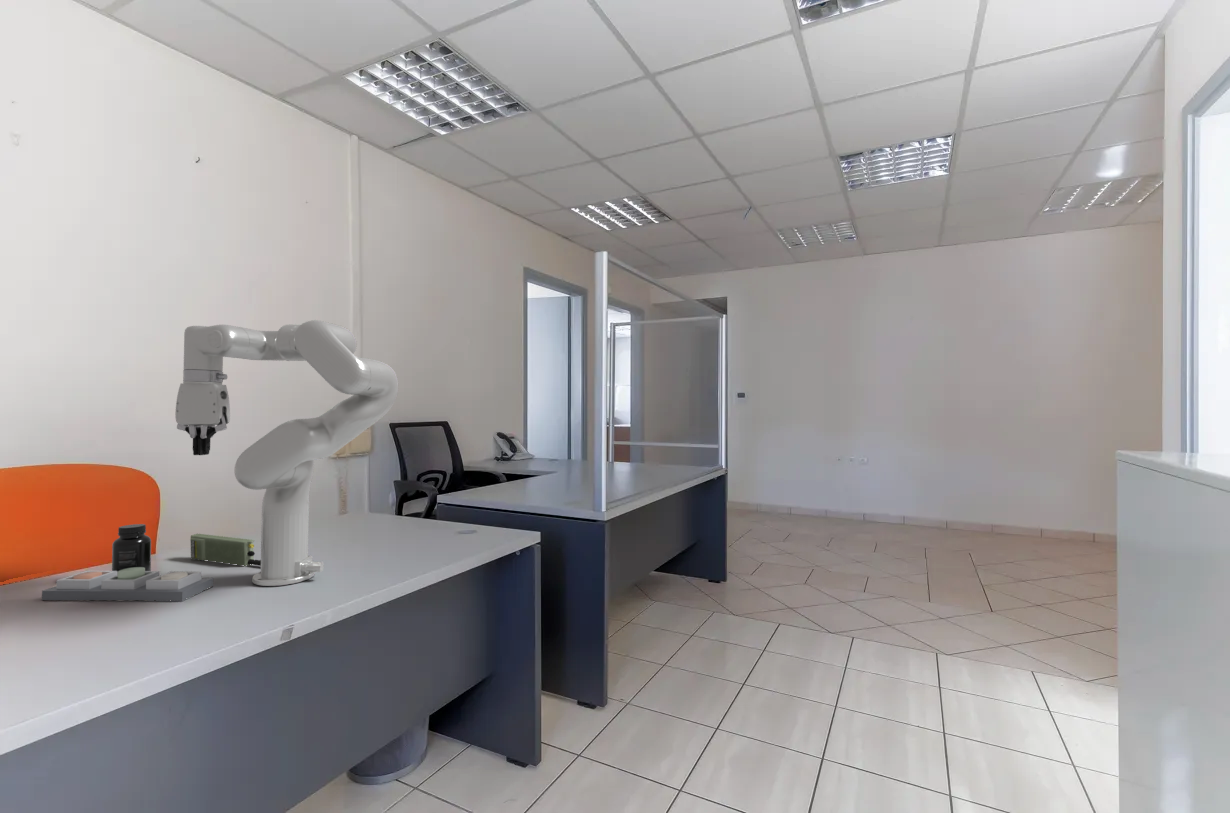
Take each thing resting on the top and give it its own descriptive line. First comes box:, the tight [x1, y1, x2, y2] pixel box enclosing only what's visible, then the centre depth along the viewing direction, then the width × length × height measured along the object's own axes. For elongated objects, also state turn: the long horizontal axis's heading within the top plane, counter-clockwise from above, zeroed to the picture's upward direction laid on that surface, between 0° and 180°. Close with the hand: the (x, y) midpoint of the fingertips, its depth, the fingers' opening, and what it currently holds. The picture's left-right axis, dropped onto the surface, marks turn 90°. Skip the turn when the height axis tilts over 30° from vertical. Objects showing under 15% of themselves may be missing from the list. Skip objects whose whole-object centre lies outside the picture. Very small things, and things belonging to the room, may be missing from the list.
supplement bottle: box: [111, 523, 152, 574], centre depth 127 cm, size 7×7×12 cm
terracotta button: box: [73, 570, 102, 579], centre depth 116 cm, size 4×4×2 cm
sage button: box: [117, 567, 145, 580], centre depth 116 cm, size 4×4×2 cm
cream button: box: [161, 572, 188, 580], centre depth 117 cm, size 4×4×2 cm
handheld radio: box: [189, 533, 261, 567], centre depth 140 cm, size 7×3×25 cm
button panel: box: [41, 570, 214, 602], centre depth 116 cm, size 28×9×4 cm, turn 92°
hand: (201, 454), depth 131 cm, fingers closed
